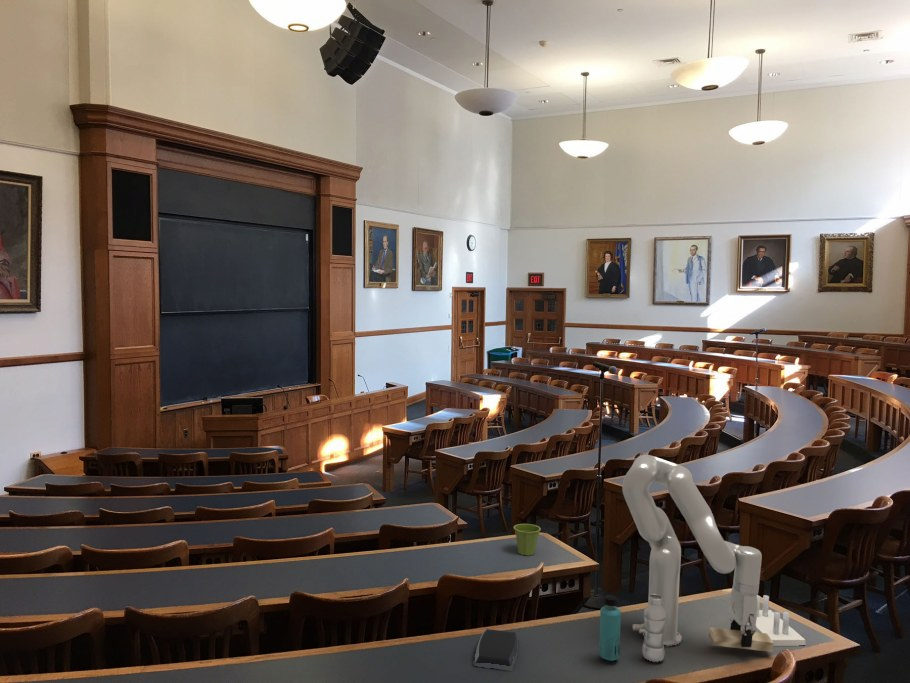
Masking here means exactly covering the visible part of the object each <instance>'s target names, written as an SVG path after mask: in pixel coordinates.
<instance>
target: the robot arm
mask: <svg viewBox="0 0 910 683" xmlns="http://www.w3.org/2000/svg"><path fill="white" fill-rule="evenodd" d="M653 483H657V484H659V485H662V486H665V487H666V490H667V492H668V493H669V494H670V497H671V499H672V500H673V501H674V504H675V505H676V507H677V508H678V509H679V511H680V513H681V515H682V516H683V517H684V519H685V521H686V524H687V525H688V527H689V529H690V531H691V533H692V535H693V536H694V538H695V540H696V541H697V543H698V546H699V547H700V549H701V551H702V552H703V555H704V556H705V558H706V560H707V561H708V563H709V565H710V566H711V567H712V568H713V570H715V571H716V572H717V573H720V574H723V575H724V574H725V575H726V574H730V573H732V572H733V571H734V573H733V583H732V588H731V591H730V594H729V595H730V596H729V600H728V608H727V611H728V614H729V616H730V628H729V629H731V630H740V631H743V634H742V638H741V646H742V647H751V645H752V636H753V635H754V633H755V632H756V631H757V628H756V620H757V595H758V594H759V589H760V580H761V579H760V578H761V569H762V560H763V559H762V557H763V556H762V552H761V551H760V550H759V549H757V548H755V547H752V546H748V545H747V546H746V545H744V546H743V545H739V544H736V543H733V542H730V541H727V540H724V538H723V536H722V535H721V533H720V531H719V529H718V526H717V523H716V520H715V516H714V513H712V512H713V511H712V510H711V508H710V506H709V505H708V503H707V502H706V500H705V498H704V497H703V495H702V494H701V492H700V491H699V489H698V487H697V485H696V484H695V482H694V480H693V474H692V472H691V471H690V470H689V469H688V468H687V467H685V466H683V465H680V464H679V463H675V462H672V461H668V460H666V459H664V458H660V457H657V456H653V455H650V454H642V455H641V454H640V455H639V456H638V457H636V458H635V459H634V461H633V464H632V465H631V467H630V468H629V470H628V471H627V472H626V474H625V475H624V478H623V480H622V484H621V485H622V486H621V487H622V488H621V489H622V495H623V498H624V500H625V502H626V505H627V507H628V509H629V513H630V514H631V517H632V519H633V522H634V523H635V525H636V529H637V531H638V533H639V535H640V536H641V538H642V539H644V540H645V541H646V542H648V544H649V546H650V548H651V550H650V555H649V570H648V571H649V572H648V574H649V575H648V578H649V580H648V602H647V605H648V604H649V597H650V595H652V594H655V595H659V596H661V597H662V604H661V606H662V607H663V609H664V611H665V613H666V618H665V623H664V630H663V645H671V646H670V647H673V646H672V645H675V646H678V645H679V643H680V644H681V643H682V639H683V638H682V635H681V634H680V632H678V617H679V616H678V615H679V597H680V596H679V594H680V578H681V577H680V575H681V574H680V573H681V564H682V562H681V561H682V560H681V559H682V558H681V557H682V548H681V547H682V546H681V543H680V541H679V539H678V537H677V535H676V533H675V530H674V528H673V526H672V523H671V522H670V519H669V517H668V516H667V514H666V513H665V511H664V510H663V509H662V508H660V507H658V506H657V505H656V503H655V500H654V498H653V496H652V494H651V493H650V486H651V485H652V484H653ZM758 596H759V595H758ZM643 622H644V623H641V624H638V623H633V624H632V631H638V633H639V634H642V633H643V635H644V636H645V620H643ZM747 623H749V624H750V625H747ZM741 628H742V629H741ZM747 628H748V629H747ZM677 644H678V645H677Z"/></svg>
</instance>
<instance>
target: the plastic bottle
mask: <svg viewBox="0 0 910 683" xmlns="http://www.w3.org/2000/svg"><path fill="white" fill-rule="evenodd" d="M648 598H649V604H648V603H647V606H645V608H644V610H643V619H644V620H643V621H645V637H643V644H642V650H641V652H642V653H641V654H642V656H643V658H644V659H647V660H646V661H648V660H649V662H651V661H652V662H651V663H660V662H662V661H663V660H664V657H665V654H666V652H665V646H663V630H664V623H665V618H666V613H665V611H664V609H663V607H662V606H661V604H662V597H661V596H659V595H655V594H652V595H650V597H649V596H648ZM659 661H660V662H659Z"/></svg>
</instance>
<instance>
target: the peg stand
mask: <svg viewBox="0 0 910 683" xmlns="http://www.w3.org/2000/svg"><path fill="white" fill-rule="evenodd" d="M769 600H770V596H769V595H766V594H764V595H763V597H762V609H760V607H761V596H760V595H757V620H756V628H757V631H756V632H758V633H767V634H768V636H769V637H770V638H771V640H772V641H773V643H774V644H773V647H800V646H799V645H805V646H806V643H807V642H806V639H805V638H804V637H803V636H801V634H799V633H798V632H797V631H796V630H795V629H793V628H792V627H791V626H790V625H789V624H790V612H788V611H783V613H782V614H783V615H782V618H781V613H780V612H779V611H773V610H771V609H769V603H770V601H769ZM746 625H750V624H749V623H747V624H746Z"/></svg>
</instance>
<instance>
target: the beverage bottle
mask: <svg viewBox="0 0 910 683" xmlns="http://www.w3.org/2000/svg"><path fill="white" fill-rule="evenodd" d="M618 602H619V601H618V597H617V596H616V595H614V594H607V595H604V599H603V603H604V605H603V606H602V607H601V608H600V610H599V611H600V614H599V617H600V618H599V639H598V643H599V644H598V655H599V657H600V658H602V659H603V660H607V661H615V660H616V661H617V660H618V659H619V658H620V652H621V616H622V612H621V610H620V609H619V608H618V607H617V606H618V605H619V603H618Z"/></svg>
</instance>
